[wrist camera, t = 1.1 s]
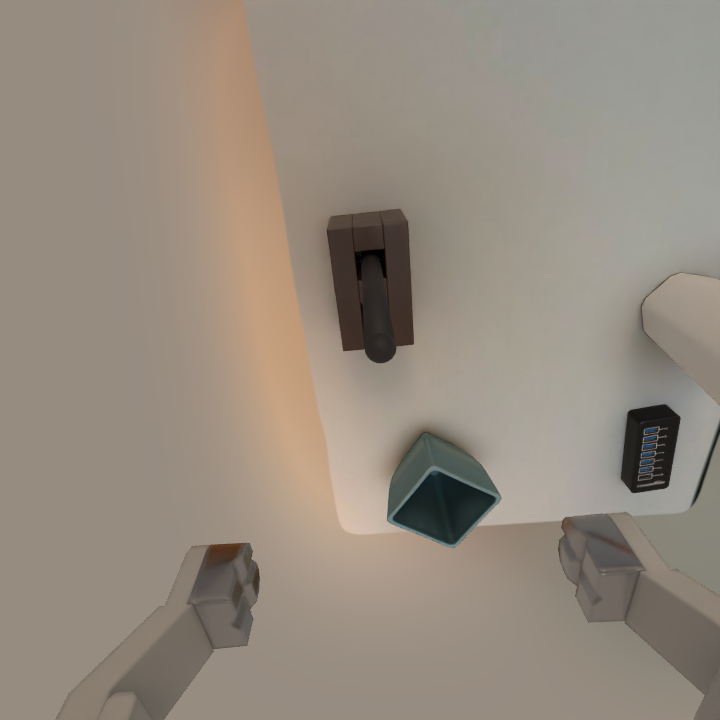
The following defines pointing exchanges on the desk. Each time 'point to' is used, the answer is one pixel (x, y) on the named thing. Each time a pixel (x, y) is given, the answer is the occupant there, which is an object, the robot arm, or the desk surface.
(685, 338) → the cup
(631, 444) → the multiport hub
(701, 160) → the desk surface
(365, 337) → the stylus
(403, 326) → the pen stand
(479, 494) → the flower pot
